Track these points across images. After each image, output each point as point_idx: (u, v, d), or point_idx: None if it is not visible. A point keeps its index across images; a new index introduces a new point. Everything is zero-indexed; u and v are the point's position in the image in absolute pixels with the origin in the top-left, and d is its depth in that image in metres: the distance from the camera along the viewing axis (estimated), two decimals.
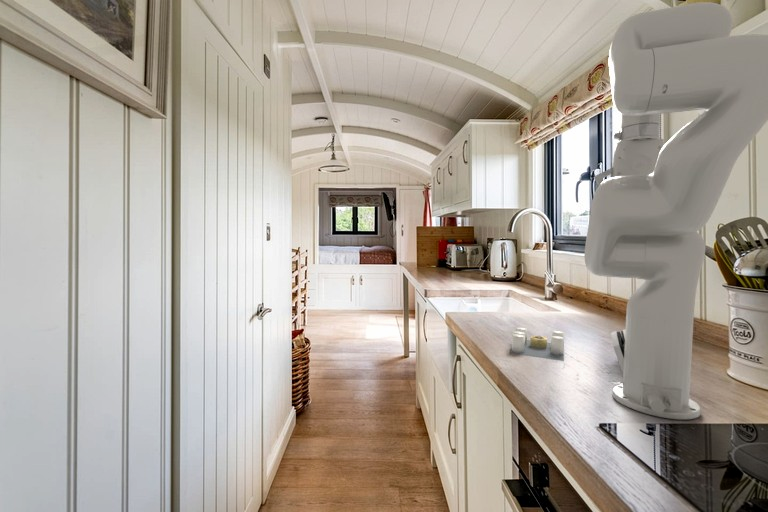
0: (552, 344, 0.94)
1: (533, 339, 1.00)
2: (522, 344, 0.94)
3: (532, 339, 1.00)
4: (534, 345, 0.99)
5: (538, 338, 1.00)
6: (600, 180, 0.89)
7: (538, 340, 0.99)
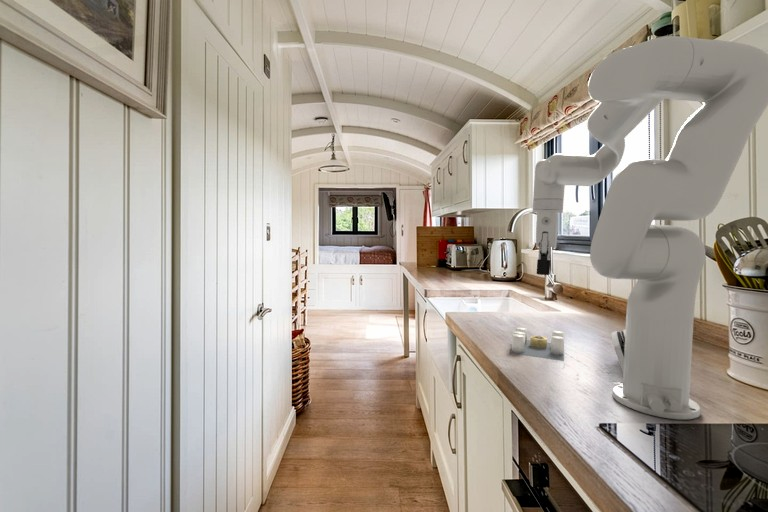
0: (552, 344, 0.94)
1: (533, 339, 1.00)
2: (522, 344, 0.94)
3: (532, 339, 1.00)
4: (534, 345, 0.99)
5: (538, 338, 1.00)
6: (546, 251, 0.98)
7: (538, 340, 0.99)
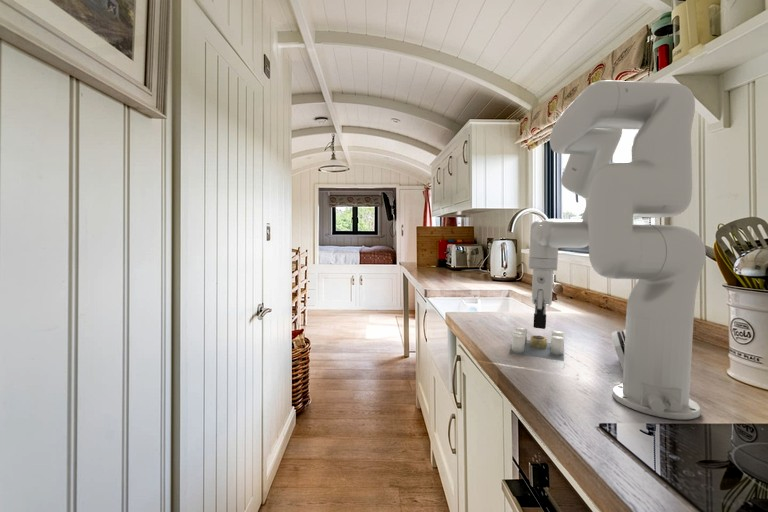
0: (552, 344, 0.94)
1: (533, 339, 1.00)
2: (522, 344, 0.94)
3: (532, 339, 1.00)
4: (534, 345, 0.99)
5: (538, 338, 1.00)
6: (542, 308, 1.03)
7: (538, 340, 0.99)
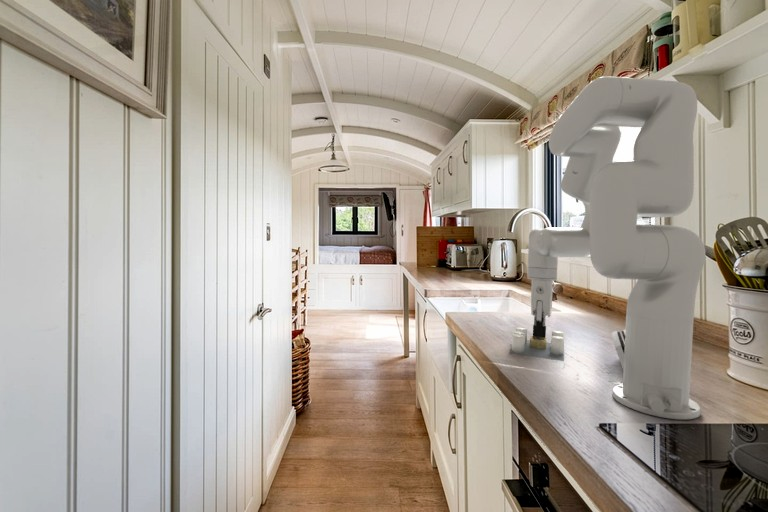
0: (552, 344, 0.94)
1: (533, 340, 0.99)
2: (522, 344, 0.94)
3: (531, 340, 0.99)
4: (534, 346, 0.99)
5: (538, 339, 0.99)
6: (541, 319, 1.00)
7: (537, 340, 0.98)
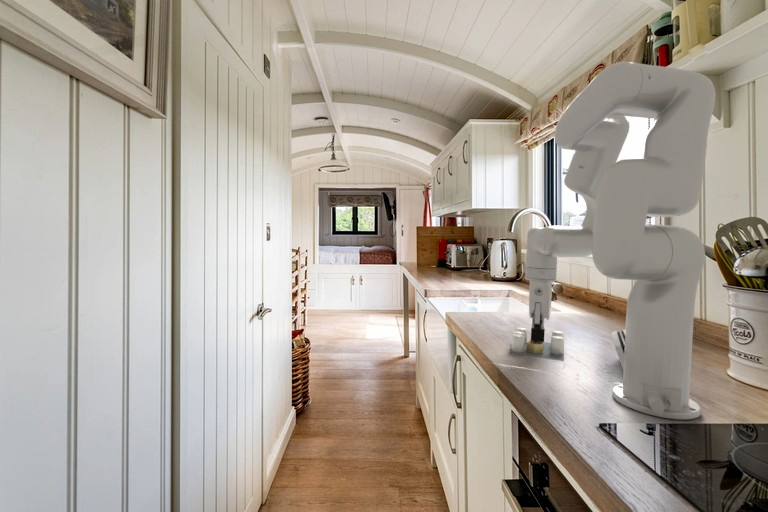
0: (552, 344, 0.94)
1: (529, 344, 0.95)
2: (522, 344, 0.94)
3: (528, 344, 0.95)
4: (531, 350, 0.94)
5: (534, 343, 0.95)
6: (539, 322, 0.95)
7: (534, 344, 0.94)
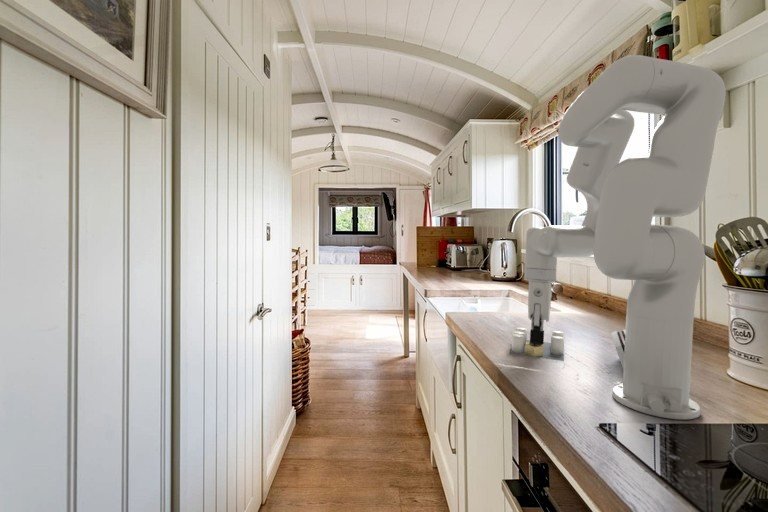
0: (552, 344, 0.94)
1: (528, 346, 0.93)
2: (522, 344, 0.94)
3: (527, 346, 0.93)
4: (530, 353, 0.92)
5: (534, 345, 0.92)
6: (539, 324, 0.93)
7: (533, 347, 0.91)
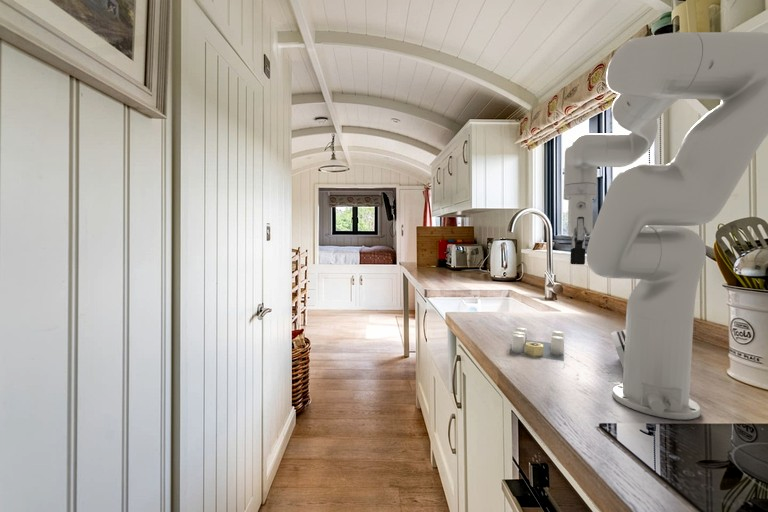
0: (552, 344, 0.94)
1: (528, 346, 0.93)
2: (522, 344, 0.94)
3: (527, 346, 0.93)
4: (530, 353, 0.92)
5: (534, 345, 0.92)
6: None
7: (533, 347, 0.91)
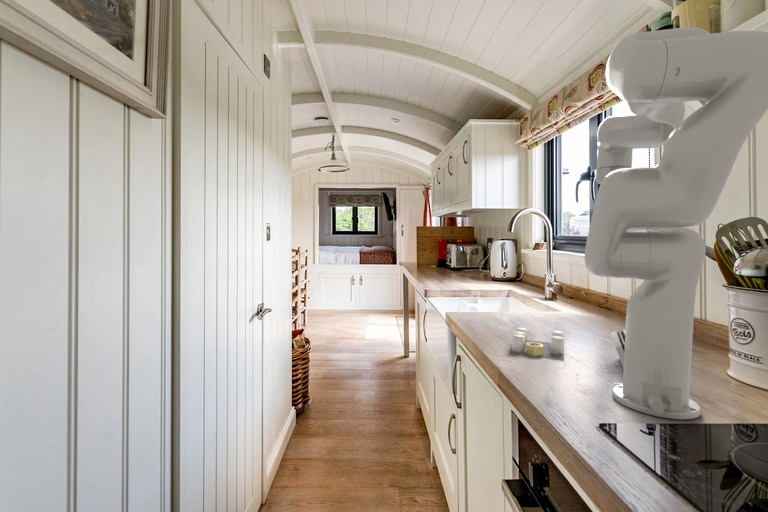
0: (552, 344, 0.94)
1: (528, 346, 0.93)
2: (522, 344, 0.94)
3: (527, 346, 0.93)
4: (530, 353, 0.92)
5: (534, 345, 0.92)
6: None
7: (533, 347, 0.91)
